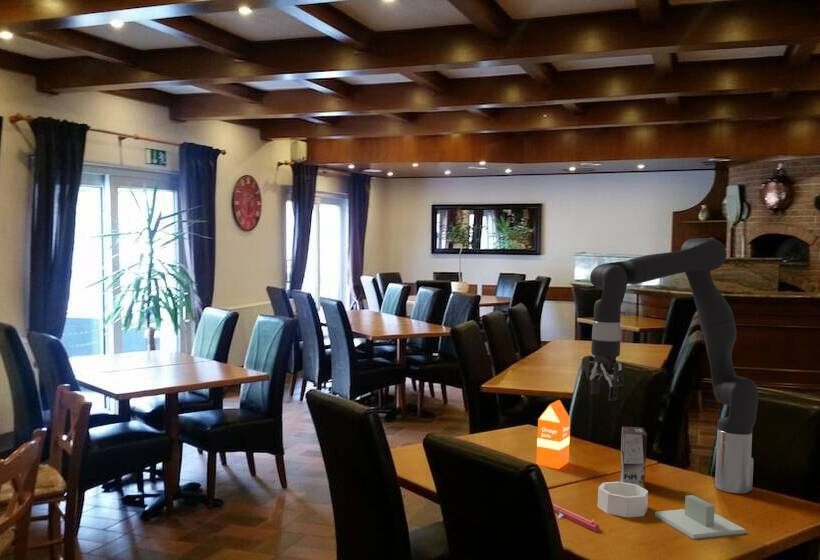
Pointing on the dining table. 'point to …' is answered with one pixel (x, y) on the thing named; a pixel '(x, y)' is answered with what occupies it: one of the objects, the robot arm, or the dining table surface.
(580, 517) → the red piece
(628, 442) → the coffee box
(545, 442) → the orange juice
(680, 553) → the dining table surface
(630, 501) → the bowl
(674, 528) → the mat
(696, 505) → the cover
